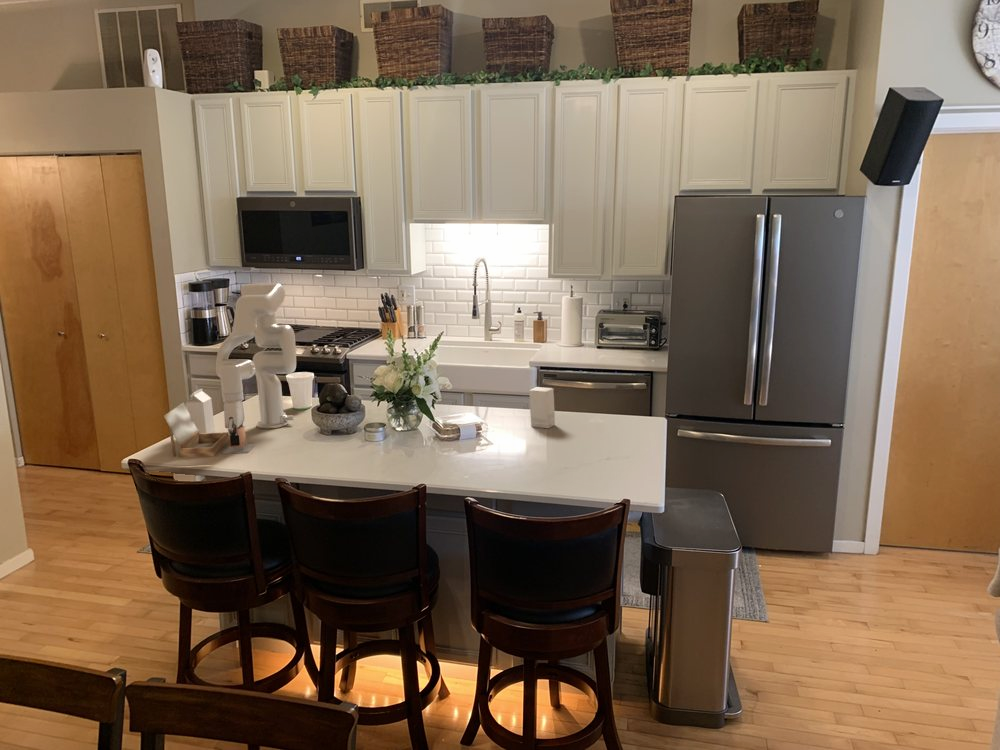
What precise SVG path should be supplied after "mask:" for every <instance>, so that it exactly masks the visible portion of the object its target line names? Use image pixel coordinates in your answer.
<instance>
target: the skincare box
mask: <svg viewBox="0 0 1000 750" xmlns="http://www.w3.org/2000/svg"><path fill="white" fill-rule="evenodd" d="M554 389H555V388H552V387H544V386H543V387H540V386H536V387H534V388H531V389H529V390H528V391H529V393H528V394H529V410H530V411H529V412H530V413H529V414H530V427H534V428H540V429H550V428H551V427H554V426H555V425H556V418H555V416H556V414H555V412H556V411H555V394H554V392H555V391H554Z"/></svg>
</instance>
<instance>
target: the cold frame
mask: <svg viewBox="0 0 1000 750" xmlns="http://www.w3.org/2000/svg"><path fill="white" fill-rule="evenodd" d="M163 417H164V419H165V421H166V423H167V425H168V427H169V435H170V442H171V443H170V445H171V452H172V457H176V456H177V454H176V447H175V440H176V442H177V444H178V446H180V448H179V455H180V458H194V457H195V458H197V457H214V456H215V455H216V454H217V453H219V451H221V449H222V448H223V447H224V446H225V445H226V444H227V443H229V435H228V431H227V432H225V431H223V432H215V433H199V430H197V428H196V426H195V424H194V422H193V420H192V418H191V416H190V414H189V412H188V410H187V407H186V403H185V402H182V403H180V404H178V405H177V406H175V407H174V408H173V409H171V410H170V411H168V413H166V414H164V415H163ZM174 438H175V439H174Z"/></svg>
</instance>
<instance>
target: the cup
mask: <svg viewBox="0 0 1000 750" xmlns="http://www.w3.org/2000/svg"><path fill="white" fill-rule="evenodd" d="M285 378H286V379H285V380H286V381H287V383H288V387H289V391H290V398H291V403H292V407H293V409H294V410H297V411H298V410H308V409H311V408H313V403H312V402H313V380H314V378H315V374H314V372H310V371H309V372H308V371H301V372H300V371H299V372H293V373H290V374H285Z"/></svg>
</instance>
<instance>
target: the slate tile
mask: <svg viewBox="0 0 1000 750" xmlns="http://www.w3.org/2000/svg"><path fill="white" fill-rule="evenodd" d="M255 446H256V444H255V443H253V444H249V443H248V444H247V443H246V445H245V446H243V447H237V448H233V447H230V444H228V445H227V446H226V447H225V449H223V451H222V452H220V454H221V455H229V454H232V455H233V454H249V453H250V452H251V450H252V449H253V448H254V447H255Z"/></svg>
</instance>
